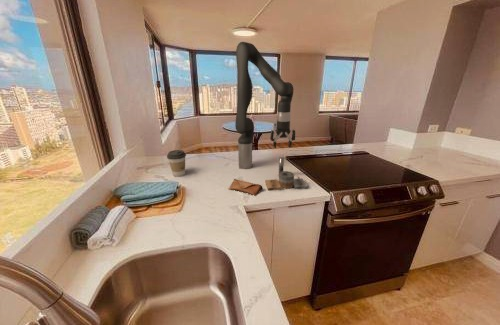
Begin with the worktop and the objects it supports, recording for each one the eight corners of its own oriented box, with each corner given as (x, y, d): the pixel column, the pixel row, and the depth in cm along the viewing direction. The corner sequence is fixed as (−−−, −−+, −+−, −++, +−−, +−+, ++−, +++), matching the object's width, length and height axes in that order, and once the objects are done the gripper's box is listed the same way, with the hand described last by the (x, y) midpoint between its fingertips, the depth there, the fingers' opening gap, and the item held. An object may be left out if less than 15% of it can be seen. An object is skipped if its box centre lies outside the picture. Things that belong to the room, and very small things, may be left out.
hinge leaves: (267, 190, 114) (268, 178, 112) (265, 182, 124) (265, 171, 121) (307, 188, 116) (309, 177, 114) (302, 180, 125) (303, 169, 123)
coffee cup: (183, 179, 128) (179, 155, 123) (166, 177, 130) (162, 154, 125) (191, 171, 138) (189, 149, 133) (175, 170, 141) (172, 148, 135)
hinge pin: (279, 176, 131) (279, 158, 126) (278, 174, 133) (278, 157, 129) (283, 176, 131) (284, 158, 126) (282, 174, 133) (283, 156, 129)
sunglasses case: (226, 189, 116) (229, 177, 116) (232, 190, 122) (234, 179, 123) (256, 196, 108) (259, 183, 109) (260, 197, 115) (263, 185, 116)
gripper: (294, 118, 123) (292, 145, 129) (269, 119, 122) (269, 145, 128) (297, 120, 116) (295, 148, 122) (272, 121, 115) (271, 149, 121)
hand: (282, 147), depth 125 cm, fingers open, 8 cm apart
